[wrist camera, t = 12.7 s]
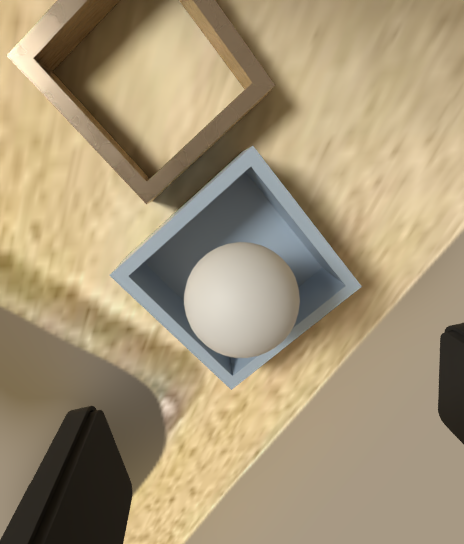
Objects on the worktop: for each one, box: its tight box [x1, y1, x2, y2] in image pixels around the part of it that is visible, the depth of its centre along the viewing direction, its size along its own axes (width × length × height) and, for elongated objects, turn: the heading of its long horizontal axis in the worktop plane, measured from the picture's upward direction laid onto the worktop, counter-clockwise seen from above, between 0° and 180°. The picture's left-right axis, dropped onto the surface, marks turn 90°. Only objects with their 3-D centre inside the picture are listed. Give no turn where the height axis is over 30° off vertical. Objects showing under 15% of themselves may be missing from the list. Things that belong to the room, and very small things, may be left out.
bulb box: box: [110, 146, 362, 390], centre depth 23 cm, size 12×12×5 cm
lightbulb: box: [184, 242, 300, 358], centre depth 20 cm, size 6×6×11 cm
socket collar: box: [7, 0, 275, 204], centre depth 20 cm, size 11×11×2 cm
